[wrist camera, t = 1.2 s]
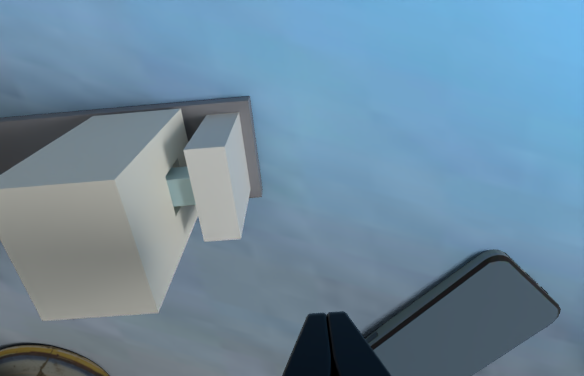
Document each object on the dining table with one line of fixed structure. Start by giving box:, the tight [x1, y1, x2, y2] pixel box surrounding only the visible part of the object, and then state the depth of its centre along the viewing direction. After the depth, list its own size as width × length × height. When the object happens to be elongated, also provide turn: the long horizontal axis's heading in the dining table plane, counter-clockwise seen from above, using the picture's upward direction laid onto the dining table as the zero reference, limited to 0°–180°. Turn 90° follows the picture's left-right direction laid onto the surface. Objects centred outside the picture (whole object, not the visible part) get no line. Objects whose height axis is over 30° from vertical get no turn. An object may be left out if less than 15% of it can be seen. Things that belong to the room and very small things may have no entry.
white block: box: [0, 108, 198, 321], centre depth 15 cm, size 5×4×7 cm
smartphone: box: [365, 250, 561, 376], centre depth 26 cm, size 8×2×15 cm
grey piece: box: [0, 96, 262, 242], centre depth 17 cm, size 5×18×5 cm, turn 95°
